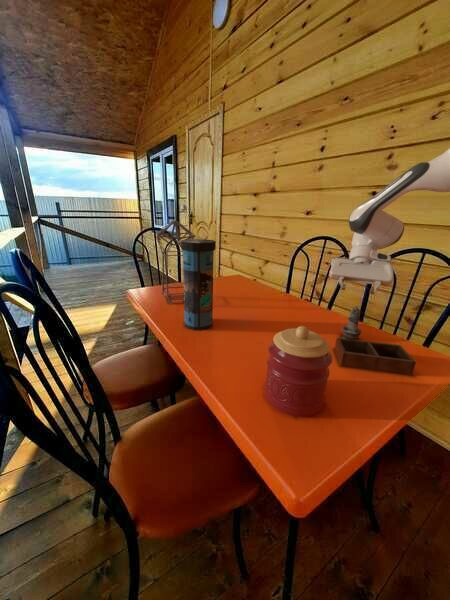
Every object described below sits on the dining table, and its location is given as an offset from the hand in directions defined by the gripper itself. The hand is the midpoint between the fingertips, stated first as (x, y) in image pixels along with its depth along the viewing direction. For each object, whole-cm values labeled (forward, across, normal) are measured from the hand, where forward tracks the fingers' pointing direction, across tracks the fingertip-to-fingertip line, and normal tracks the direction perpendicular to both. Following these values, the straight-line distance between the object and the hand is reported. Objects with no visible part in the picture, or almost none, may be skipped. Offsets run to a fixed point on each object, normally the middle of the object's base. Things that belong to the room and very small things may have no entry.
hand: (357, 291), depth 89 cm
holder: (+26, +5, -6) cm, 27 cm away
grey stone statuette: (+17, 0, +4) cm, 17 cm away
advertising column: (+27, -50, -7) cm, 57 cm away
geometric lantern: (+15, -72, +6) cm, 73 cm away
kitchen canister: (+44, -12, -23) cm, 51 cm away
